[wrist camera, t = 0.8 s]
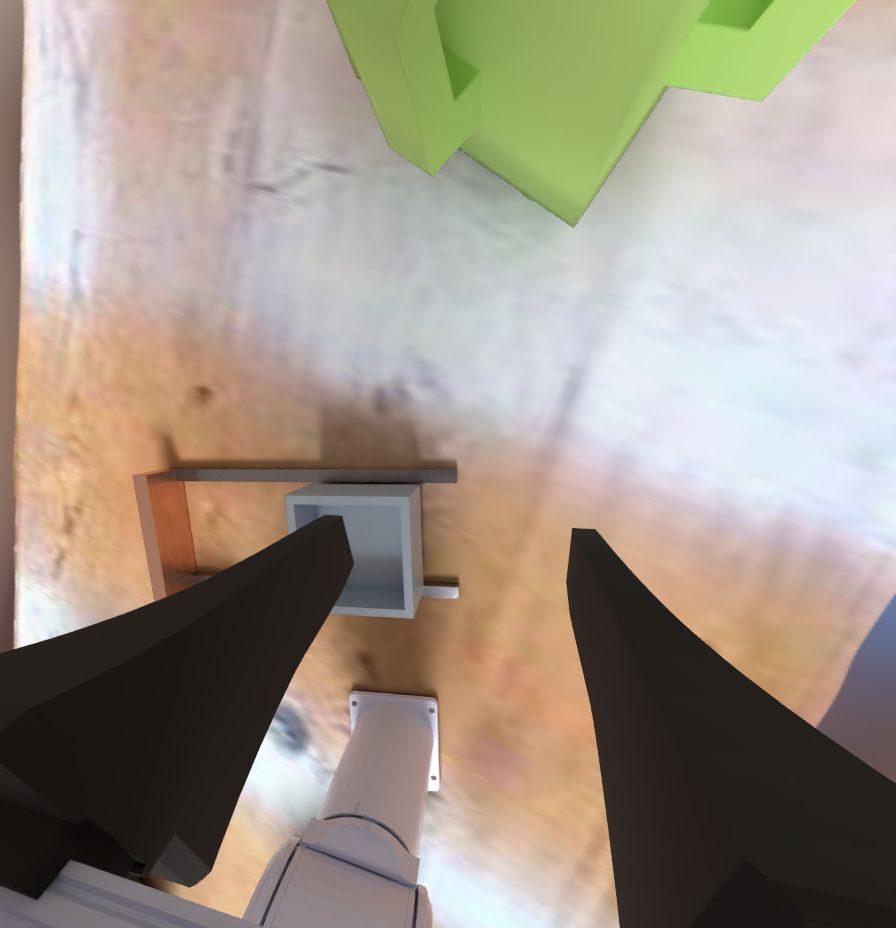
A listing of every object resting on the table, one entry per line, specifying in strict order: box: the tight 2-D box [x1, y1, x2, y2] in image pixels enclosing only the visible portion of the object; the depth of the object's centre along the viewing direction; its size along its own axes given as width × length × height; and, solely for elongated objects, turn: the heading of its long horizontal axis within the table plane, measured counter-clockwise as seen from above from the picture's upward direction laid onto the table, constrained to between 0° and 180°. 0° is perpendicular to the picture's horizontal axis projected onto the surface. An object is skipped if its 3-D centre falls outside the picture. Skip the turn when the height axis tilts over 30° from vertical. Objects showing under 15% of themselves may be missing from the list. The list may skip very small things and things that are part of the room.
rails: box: [132, 468, 459, 601], centre depth 26 cm, size 11×25×3 cm, turn 91°
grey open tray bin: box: [284, 484, 424, 619], centre depth 25 cm, size 9×9×5 cm
